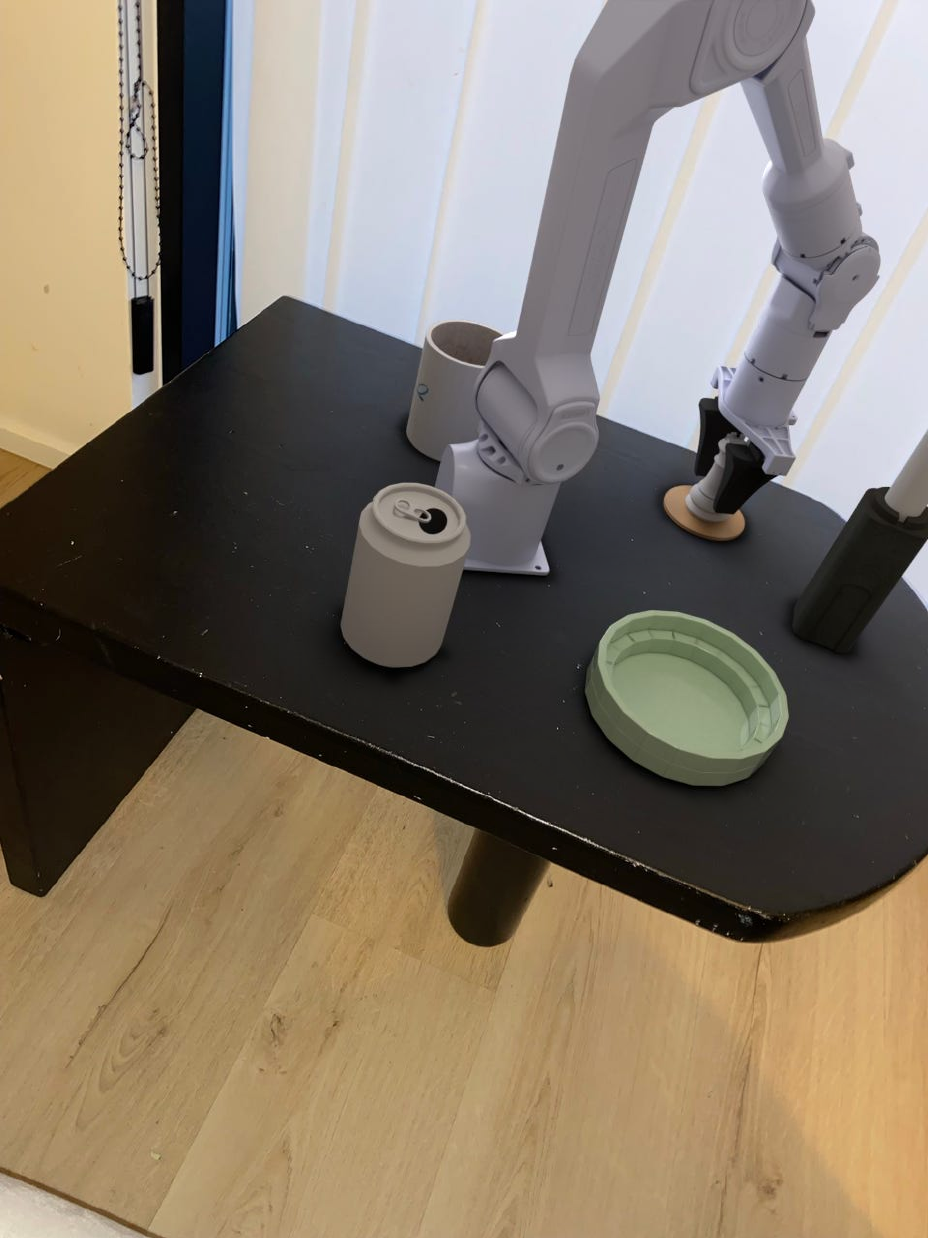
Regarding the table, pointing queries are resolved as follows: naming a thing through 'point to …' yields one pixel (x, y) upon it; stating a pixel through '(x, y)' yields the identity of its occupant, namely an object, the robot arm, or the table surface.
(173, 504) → the table surface
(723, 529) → the coaster
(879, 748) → the table surface
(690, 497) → the rook chess piece
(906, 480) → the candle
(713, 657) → the dish
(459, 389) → the mug
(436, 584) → the can
